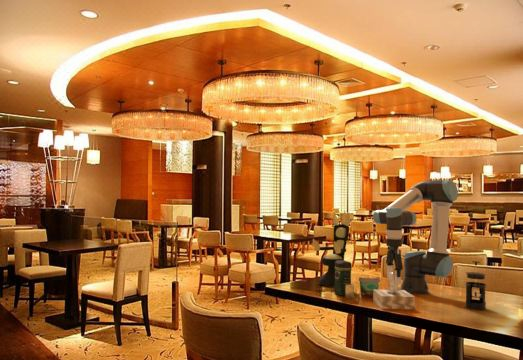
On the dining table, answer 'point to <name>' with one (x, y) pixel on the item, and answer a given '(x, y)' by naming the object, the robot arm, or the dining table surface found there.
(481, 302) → the french press
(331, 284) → the dark tall irregular piece
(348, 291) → the brass pin
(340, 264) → the coffee jar
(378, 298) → the tissue box
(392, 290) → the steel pin
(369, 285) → the food container
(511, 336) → the dining table surface
